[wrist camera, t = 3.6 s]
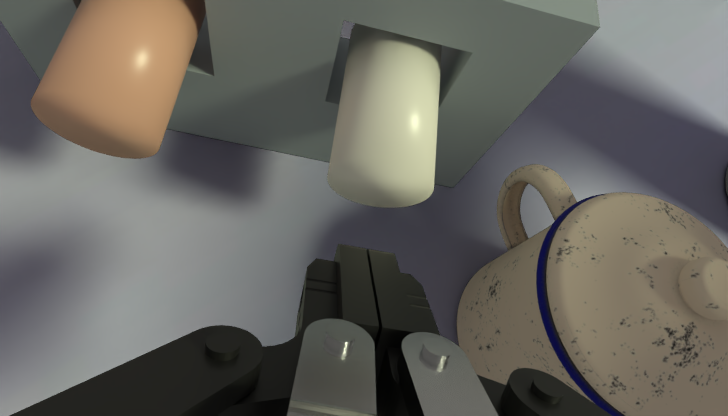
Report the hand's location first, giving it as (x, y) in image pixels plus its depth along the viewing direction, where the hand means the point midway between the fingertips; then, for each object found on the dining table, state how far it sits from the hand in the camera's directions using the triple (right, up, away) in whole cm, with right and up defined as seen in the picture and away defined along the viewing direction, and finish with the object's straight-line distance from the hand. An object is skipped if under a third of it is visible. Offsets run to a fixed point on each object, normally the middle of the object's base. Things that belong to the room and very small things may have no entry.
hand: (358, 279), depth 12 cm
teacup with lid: (+9, -4, +13) cm, 16 cm away
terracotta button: (-9, +7, +7) cm, 13 cm away
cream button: (+1, +5, +8) cm, 10 cm away
